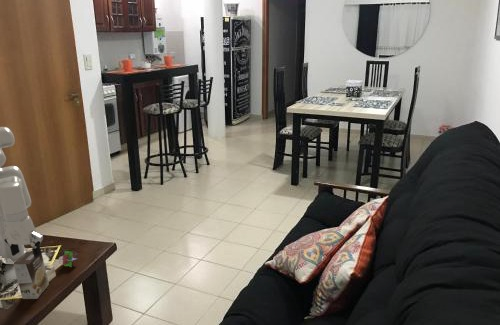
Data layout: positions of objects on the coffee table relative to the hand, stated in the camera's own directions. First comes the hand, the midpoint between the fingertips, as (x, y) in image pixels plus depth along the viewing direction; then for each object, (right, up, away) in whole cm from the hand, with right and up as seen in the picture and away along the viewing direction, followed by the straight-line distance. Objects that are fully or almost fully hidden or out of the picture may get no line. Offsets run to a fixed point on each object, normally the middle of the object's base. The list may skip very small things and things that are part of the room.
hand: (26, 254), depth 154 cm
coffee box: (0, -16, +6) cm, 18 cm away
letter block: (0, -13, +15) cm, 20 cm away
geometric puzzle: (+6, -10, +23) cm, 26 cm away
